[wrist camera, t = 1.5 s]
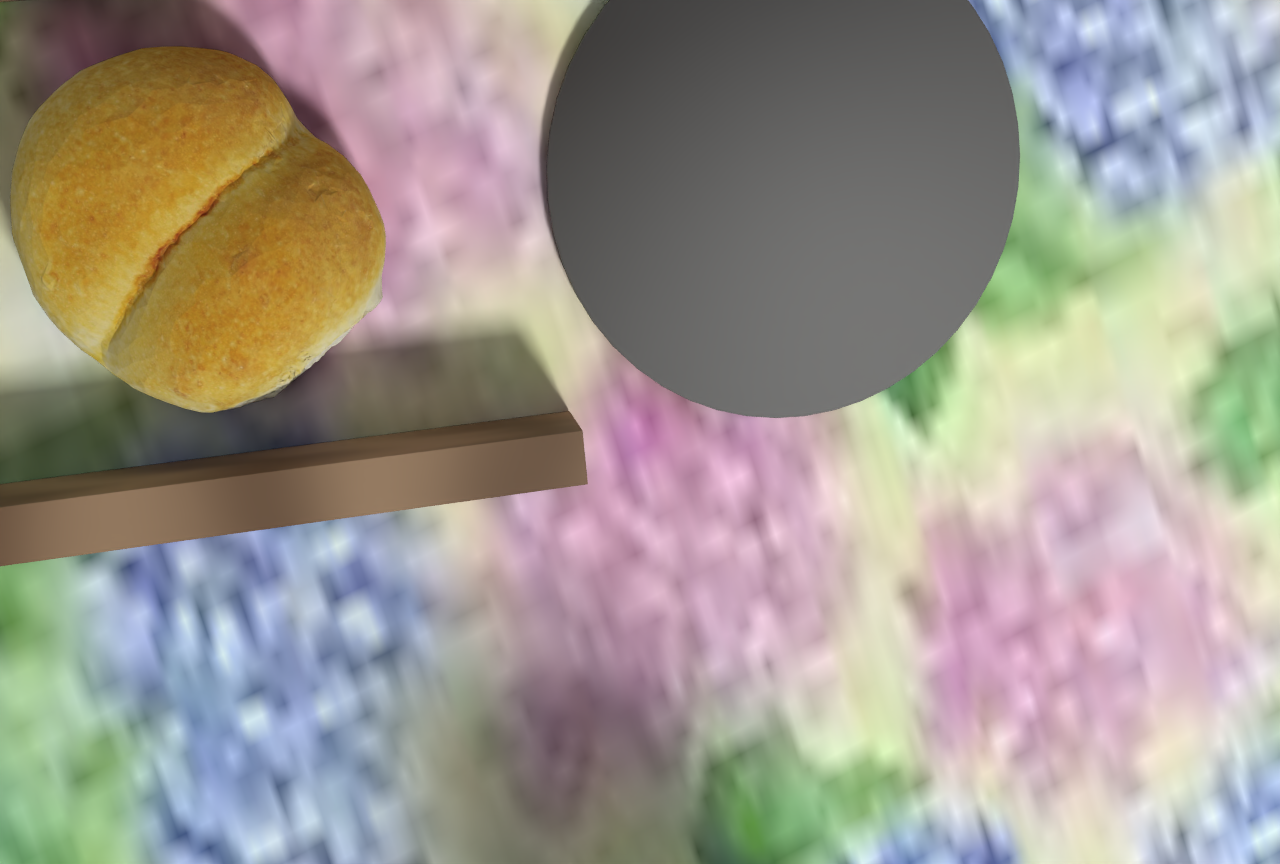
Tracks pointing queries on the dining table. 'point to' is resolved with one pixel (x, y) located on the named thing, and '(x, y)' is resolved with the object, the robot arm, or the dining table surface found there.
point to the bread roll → (192, 227)
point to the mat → (782, 191)
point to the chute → (287, 486)
